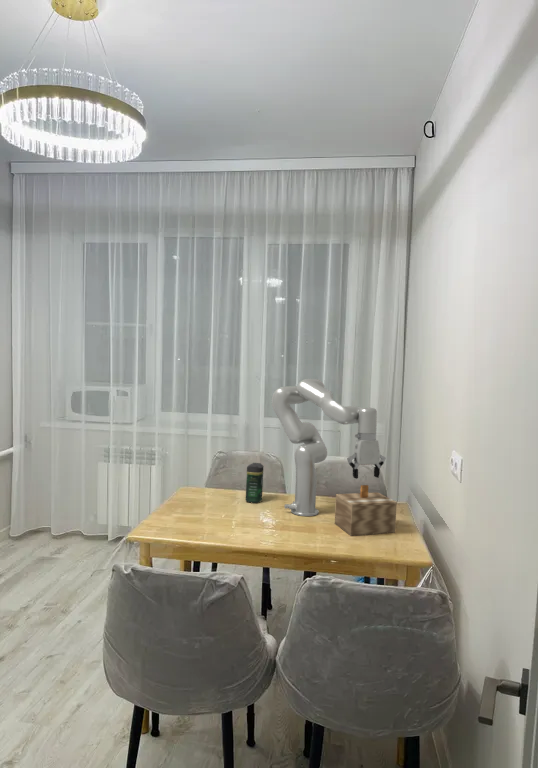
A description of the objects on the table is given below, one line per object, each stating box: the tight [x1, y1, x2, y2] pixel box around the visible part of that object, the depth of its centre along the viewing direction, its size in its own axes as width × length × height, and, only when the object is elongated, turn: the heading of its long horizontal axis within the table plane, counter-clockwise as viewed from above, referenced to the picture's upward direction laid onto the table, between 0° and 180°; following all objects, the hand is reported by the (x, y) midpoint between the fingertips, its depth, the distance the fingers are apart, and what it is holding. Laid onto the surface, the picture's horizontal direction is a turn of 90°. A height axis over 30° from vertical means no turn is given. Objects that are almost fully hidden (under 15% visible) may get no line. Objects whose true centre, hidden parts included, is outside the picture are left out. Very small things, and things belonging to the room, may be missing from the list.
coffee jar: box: [245, 462, 264, 504], centre depth 256 cm, size 10×8×19 cm
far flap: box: [335, 484, 387, 501], centre depth 223 cm, size 20×8×6 cm, turn 106°
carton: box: [334, 495, 398, 537], centre depth 219 cm, size 20×16×13 cm
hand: (366, 477), depth 220 cm, fingers open, 9 cm apart
